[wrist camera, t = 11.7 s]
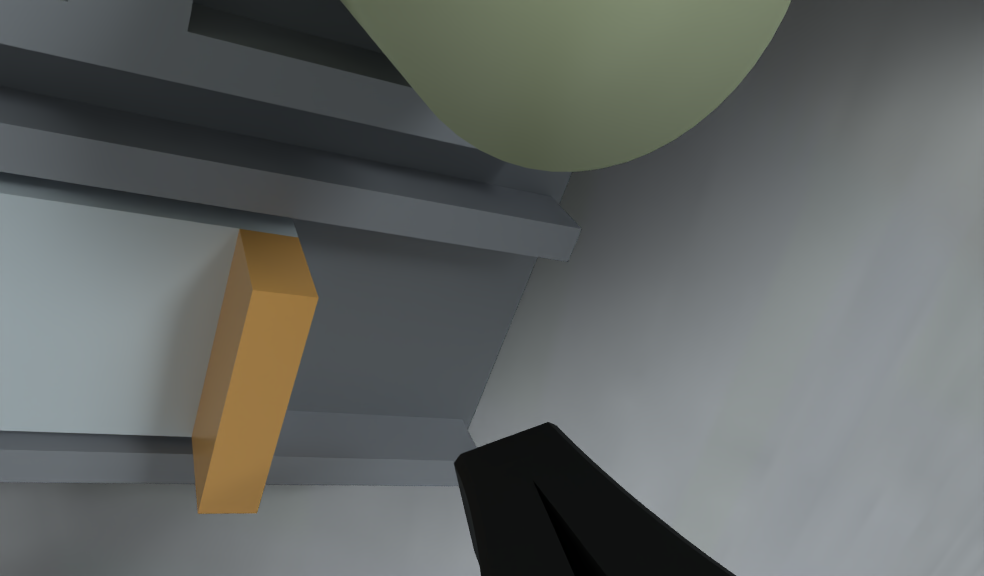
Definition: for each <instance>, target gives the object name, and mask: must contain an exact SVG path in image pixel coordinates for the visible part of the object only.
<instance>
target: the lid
mask: <svg viewBox="0 0 984 576" xmlns="http://www.w3.org/2000/svg"><path fill="white" fill-rule="evenodd" d="M318 298H319V297H318V294H317V291H316V288H315V285H314V282H313V279H312V277H311V274H310V271H309V268H308V265H307V262H306V259H305V256H304V253H303V250H302V247H301V244H300V241H299V238H298V235H297V232H296V229H295V226H294V223H293V220H292V218H289V217H282V216H276V215H270V214H264V213H257V212H251V211H245V210H238V209H232V208H226V207H220V206H213V205H207V204H201V203H194V202H188V201H182V200H176V199H169V198H163V197H157V196H150V195H144V194H138V193H132V192H125V191H119V190H113V189H106V188H100V187H94V186H88V185H81V184H75V183H69V182H62V181H56V180H50V179H44V178H37V177H31V176H25V175H19V174H12V173H6V172H0V430H2V431H31V432H61V433H90V434H120V435H149V436H179V437H192V448H193V460H194V473H195V485H196V498H197V510H198V514H216V513H257V511H258V508H259V504H260V501H261V497H262V494H263V490H264V487H265V483H266V480H267V476H268V473H269V469H270V466H271V462H272V459H273V455H274V452H275V448H276V445H277V441H278V438H279V434H280V431H281V427H282V424H283V420H284V417H285V413H286V410H287V406H288V403H289V399H290V396H291V392H292V389H293V385H294V382H295V379H296V375H297V372H298V368H299V365H300V361H301V358H302V354H303V351H304V347H305V344H306V340H307V337H308V333H309V330H310V326H311V323H312V319H313V316H314V312H315V309H316V305H317V302H318Z"/></svg>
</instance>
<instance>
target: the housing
mask: <svg viewBox="0 0 984 576" xmlns="http://www.w3.org/2000/svg"><path fill="white" fill-rule="evenodd" d="M790 2H791V0H0V172H6V173H12V174H19V175H25V176H31V177H37V178H44V179H50V180H56V181H62V182H69V183H75V184H81V185H88V186H94V187H100V188H106V189H113V190H119V191H125V192H132V193H138V194H144V195H150V196H157V197H163V198H169V199H176V200H182V201H188V202H194V203H201V204H207V205H213V206H220V207H226V208H232V209H238V210H245V211H251V212H257V213H264V214H270V215H276V216H282V217H289V218H292V220H293V223H294V226H295V229H296V232H297V235H298V238H299V241H300V244H301V247H302V250H303V253H304V256H305V259H306V262H307V265H308V268H309V271H310V274H311V277H312V279H313V282H314V285H315V288H316V291H317V294H318V297H319V298H318V302H317V305H316V309H315V312H314V316H313V319H312V323H311V326H310V330H309V333H308V337H307V340H306V344H305V347H304V351H303V354H302V358H301V361H300V365H299V368H298V372H297V375H296V379H295V382H294V385H293V389H292V392H291V396H290V399H289V403H288V406H287V410H286V413H285V417H284V420H283V424H282V427H281V431H280V434H279V438H278V441H277V445H276V448H275V452H274V455H273V459H272V462H271V466H270V469H269V473H268V476H267V480H266V483H265V484H268V485H380V486H459V484H458V480H457V476H456V471H455V467H454V462H455V461H456V459H457V458H458V457H459V455H460V454H461V453H464V452H467V451H470V450H472V449H475V448H476V446H475V444H474V442H473V440H472V438H471V436H470V434H469V432H468V428H469V425H470V423H471V420H472V418H473V416H474V413H475V411H476V408H477V406H478V403H479V401H480V398H481V396H482V393H483V391H484V388H485V386H486V384H487V381H488V379H489V376H490V374H491V371H492V369H493V366H494V364H495V361H496V359H497V356H498V354H499V351H500V349H501V347H502V344H503V342H504V339H505V337H506V334H507V332H508V329H509V327H510V324H511V322H512V319H513V317H514V315H515V312H516V310H517V307H518V305H519V302H520V300H521V297H522V295H523V292H524V290H525V287H526V285H527V283H528V280H529V278H530V275H531V273H532V270H533V268H534V265H535V263H536V260H537V258H538V257H540V258H546V259H553V260H559V261H565V262H568V261H569V258H570V256H571V254H572V251H573V249H574V247H575V244H576V242H577V240H578V237H579V235H580V232H581V230H582V229H581V228H580V227H579V225H578V224H577V223H576V222H575V221H574V220H573V219H572V218H571V217H570V216H569V215H568V214H567V213H566V212H565V211H564V209H563V208H562V207H561V206H560V205H559V204H560V201H561V199H562V196H563V194H564V191H565V189H566V187H567V184H568V182H569V179H570V177H571V174H572V172H579V171H587V170H595V169H602V168H606V167H610V166H614V165H617V164H621V163H625V162H628V161H631V160H633V159H636V158H638V157H641V156H643V155H646V154H648V153H651V152H653V151H655V150H656V149H658V148H660V147H662V146H664V145H666V144H668V143H670V142H672V141H673V140H675V139H676V138H678V137H679V136H681V135H682V134H684V133H685V132H687V131H688V130H690V129H691V128H693V127H694V126H696V125H697V124H698V123H699V122H700V121H702V120H703V119H704V118H705V117H706V116H708V115H709V114H710V113H711V112H712V111H713V110H715V109H716V108H717V107H718V106H719V105H720V104H721V103H722V102H723V101H724V100H725V99H726V98H727V97H728V96H729V95H730V94H731V93H732V92H733V91H734V90H735V89H736V88H737V86H738V85H739V84H740V83H741V81H742V80H743V79H744V78H745V76H746V75H747V74H748V73H749V72H750V70H751V69H752V68H753V67H754V65H755V64H756V62H757V61H758V59H759V58H760V56H761V55H762V53H763V52H764V50H765V49H766V47H767V46H768V44H769V43H770V41H771V40H772V38H773V36H774V34H775V32H776V31H777V29H778V27H779V25H780V23H781V21H782V19H783V18H784V16H785V14H786V12H787V9H788V7H789V5H790ZM0 482H42V483H155V484H195V473H194V460H193V448H192V437H179V436H149V435H120V434H90V433H61V432H31V431H2V430H0Z"/></svg>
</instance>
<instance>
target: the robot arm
mask: <svg viewBox="0 0 984 576" xmlns="http://www.w3.org/2000/svg"><path fill="white" fill-rule="evenodd" d="M454 467H455V471H456V476H457V480H458V484H459V488H460V492H461V497H462V501H463V505H464V509H465V514H466V518H467V522H468V526H469V531H470V535H471V539H472V543H473V547H474V551H475V554H476V557H477V560H478V562H479V565H480V572H481V576H736V575H734V574H733V573H732V572H730V571H729V570H727V569H726V568H725V567H723V566H722V565H720V564H719V563H718V562H716V561H715V560H713V559H712V558H711V557H709V556H708V555H706V554H705V553H704V552H702V551H701V550H700V549H698V548H697V547H696V546H695V545H693V544H692V543H691V542H689V541H688V540H687V539H685V538H684V537H683V536H681V535H680V534H679V533H678V532H676V531H675V530H674V529H673V528H671V527H670V526H669V525H668V524H666V523H665V522H664V521H663V520H661V519H660V518H659V517H658V516H656V515H655V514H654V513H653V512H651V511H650V510H649V509H648V508H646V507H645V506H644V505H643V504H641V503H640V502H639V501H638V500H637V499H635V498H634V497H633V496H632V495H631V494H629V493H628V492H627V491H626V490H625V489H624V488H623V487H621V486H620V485H619V484H618V483H617V482H616V481H615V480H613V479H612V478H611V477H610V476H609V475H608V474H607V473H605V472H604V471H603V470H602V469H601V468H600V467H599V466H598V465H597V464H596V463H594V462H593V461H592V460H591V459H590V458H589V457H588V456H587V455H586V454H585V453H584V452H583V451H582V450H581V449H579V448H578V447H577V446H576V445H575V444H574V443H573V442H572V441H571V440H570V439H569V438H568V437H567V436H566V435H565V434H564V433H563V432H562V431H561V430H560V429H559V428H558V427H557V426H556V425H554V424H552V423H549V422H547V423H544V424H542V425H539V426H536V427H533V428H530V429H528V430H525V431H522V432H519V433H517V434H514V435H511V436H508V437H506V438H503V439H500V440H497V441H495V442H492V443H489V444H486V445H484V446H481V447H478V448H475V449H472V450H470V451H467V452H464V453H461V454H460V455H459V457H458V458H457V459H456V461H455V462H454Z"/></svg>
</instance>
